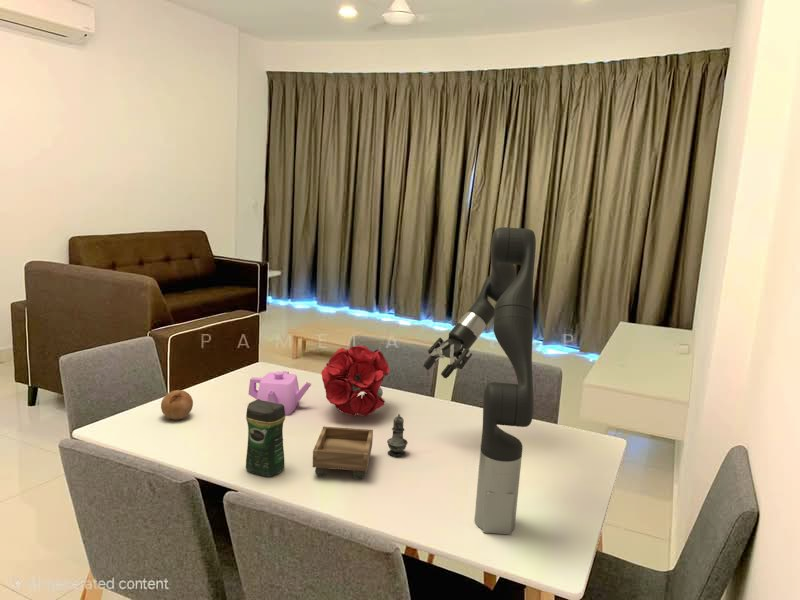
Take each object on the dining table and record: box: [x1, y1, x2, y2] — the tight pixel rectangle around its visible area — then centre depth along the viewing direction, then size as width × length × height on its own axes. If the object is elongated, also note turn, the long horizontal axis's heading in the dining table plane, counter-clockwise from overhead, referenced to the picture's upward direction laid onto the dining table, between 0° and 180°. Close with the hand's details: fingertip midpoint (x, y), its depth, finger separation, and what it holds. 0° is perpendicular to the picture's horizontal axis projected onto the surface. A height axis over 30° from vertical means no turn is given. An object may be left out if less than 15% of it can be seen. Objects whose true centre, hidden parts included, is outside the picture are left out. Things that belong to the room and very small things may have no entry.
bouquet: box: [320, 345, 391, 417], centre depth 198 cm, size 22×24×30 cm
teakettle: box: [248, 370, 312, 416], centre depth 196 cm, size 17×17×12 cm
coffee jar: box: [245, 399, 286, 477], centre depth 152 cm, size 10×8×19 cm
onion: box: [160, 389, 194, 421], centre depth 183 cm, size 10×9×10 cm
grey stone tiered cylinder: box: [386, 413, 409, 458], centre depth 166 cm, size 6×6×12 cm
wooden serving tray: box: [312, 426, 374, 480], centre depth 157 cm, size 16×14×8 cm
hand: (434, 372), depth 170 cm, fingers open, 8 cm apart
